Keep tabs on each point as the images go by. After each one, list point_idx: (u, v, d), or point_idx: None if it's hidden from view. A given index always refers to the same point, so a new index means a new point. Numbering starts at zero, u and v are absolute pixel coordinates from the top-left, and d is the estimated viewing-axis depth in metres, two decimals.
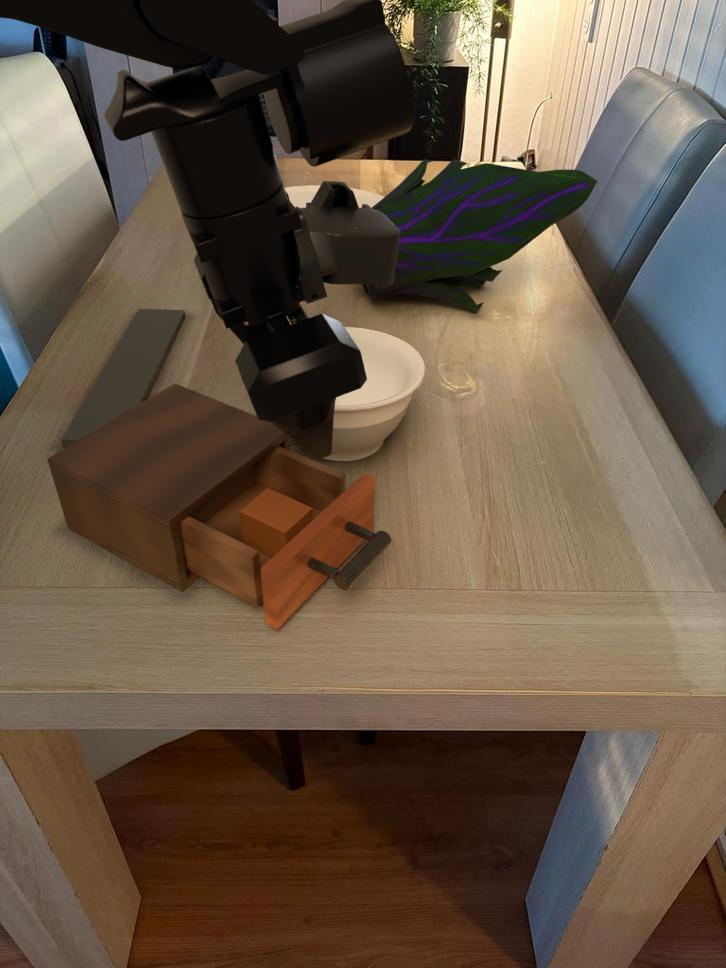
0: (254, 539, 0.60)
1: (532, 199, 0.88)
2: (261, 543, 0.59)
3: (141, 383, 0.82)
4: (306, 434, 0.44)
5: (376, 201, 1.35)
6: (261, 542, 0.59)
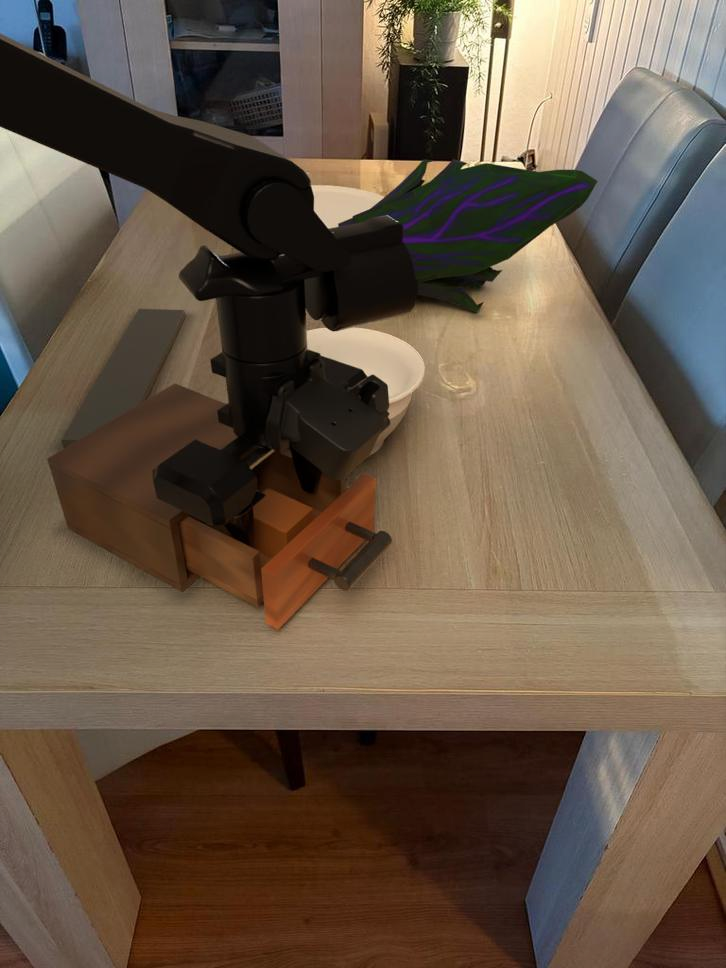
0: (254, 539, 0.60)
1: (532, 199, 0.88)
2: (262, 543, 0.59)
3: (141, 383, 0.82)
4: (226, 522, 0.55)
5: (376, 201, 1.35)
6: (261, 542, 0.59)
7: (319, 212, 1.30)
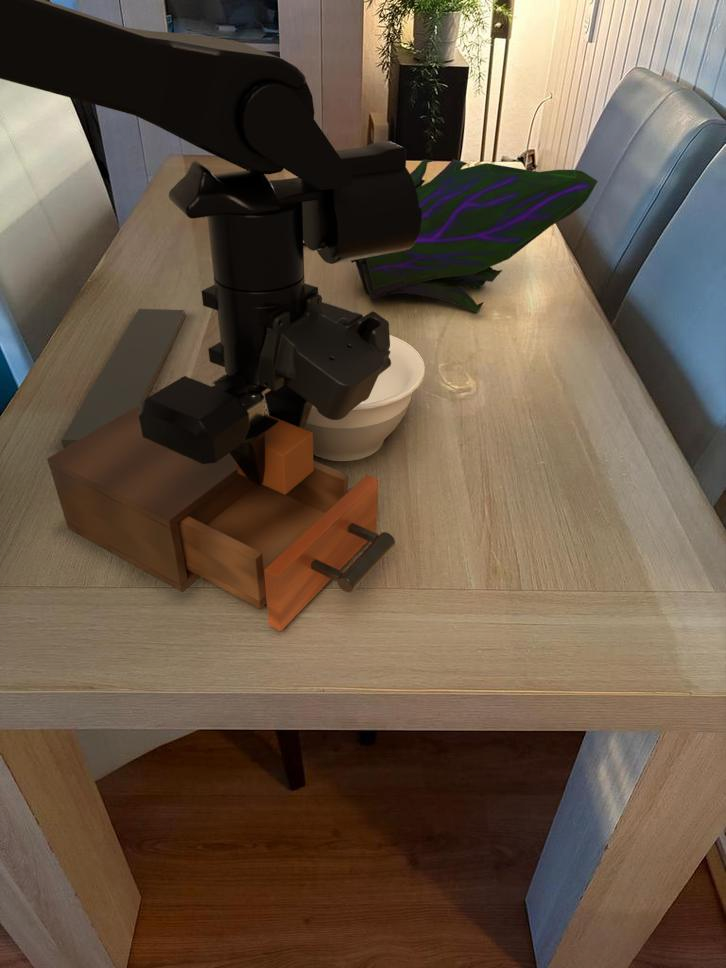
0: None
1: (532, 199, 0.88)
2: None
3: (141, 383, 0.82)
4: (237, 454, 0.53)
5: None
6: None
7: None
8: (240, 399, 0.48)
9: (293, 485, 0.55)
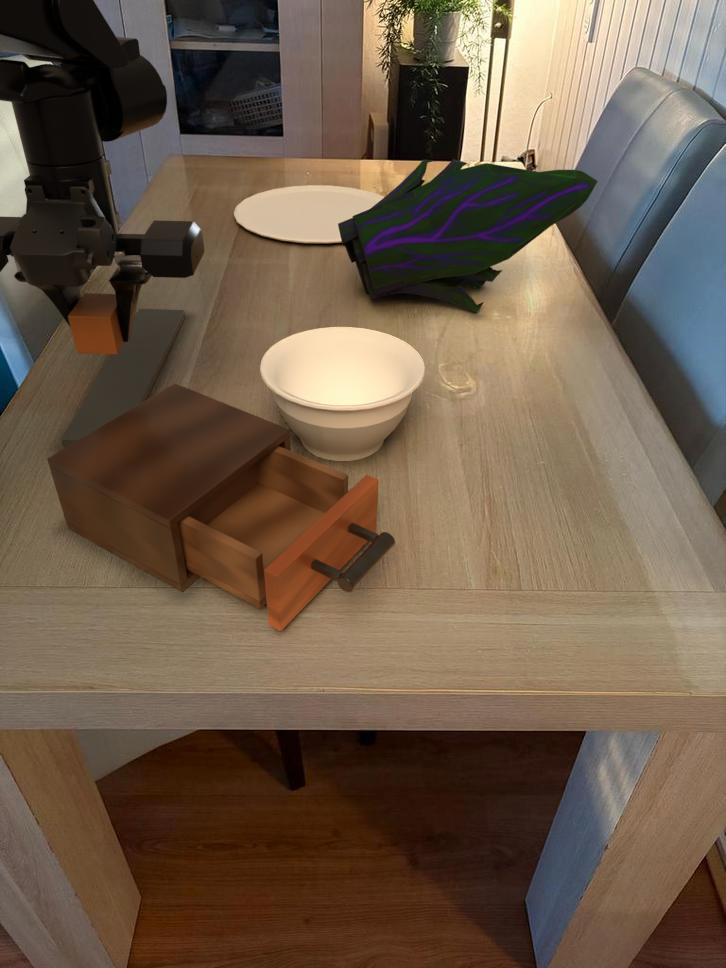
0: None
1: (532, 199, 0.88)
2: None
3: (141, 383, 0.82)
4: None
5: (376, 201, 1.35)
6: None
7: (319, 212, 1.30)
8: None
9: (87, 351, 0.65)
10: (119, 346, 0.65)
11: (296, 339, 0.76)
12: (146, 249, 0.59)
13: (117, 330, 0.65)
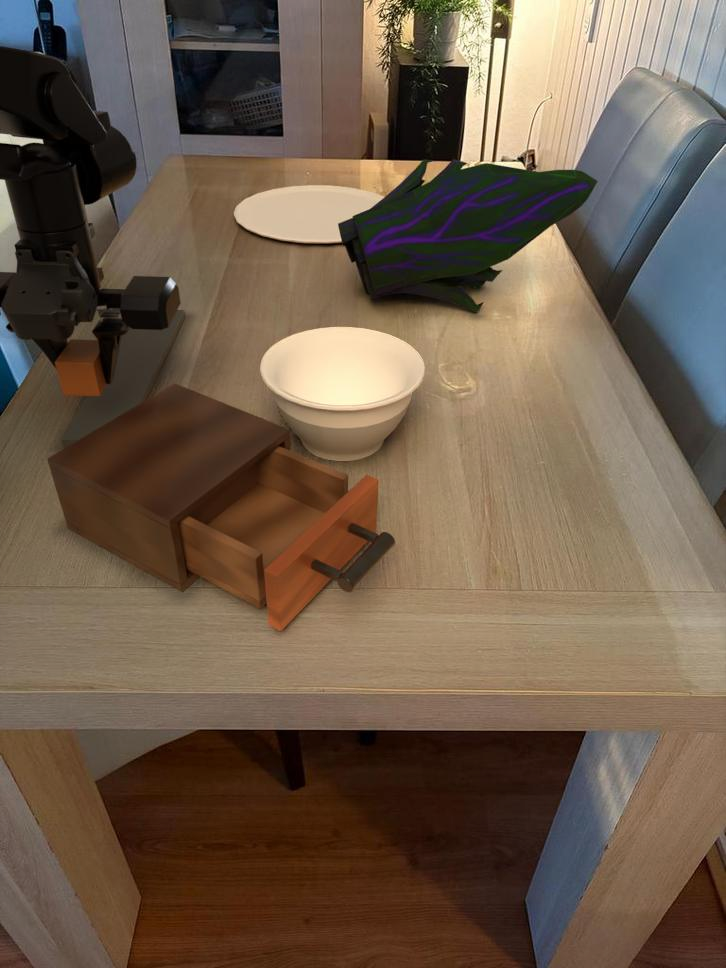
0: None
1: (532, 199, 0.88)
2: None
3: (141, 383, 0.82)
4: None
5: (376, 201, 1.35)
6: None
7: (319, 212, 1.30)
8: None
9: (72, 393, 0.71)
10: (102, 388, 0.71)
11: (296, 339, 0.76)
12: (125, 305, 0.65)
13: (100, 374, 0.71)
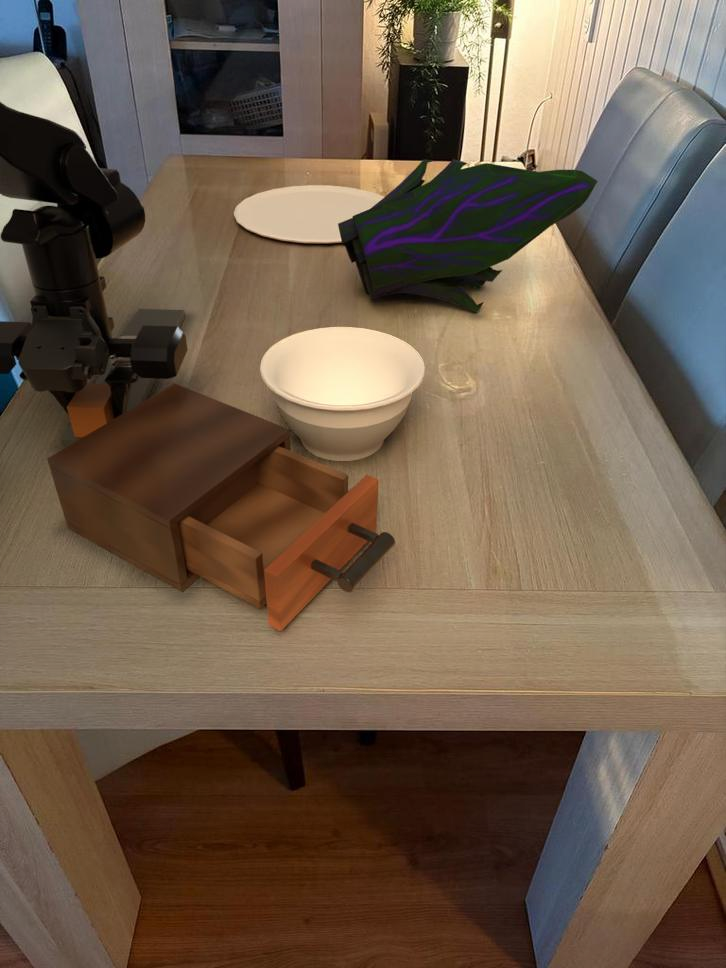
0: None
1: (532, 199, 0.88)
2: None
3: (141, 383, 0.82)
4: None
5: (376, 201, 1.35)
6: None
7: (319, 212, 1.30)
8: None
9: (83, 435, 0.74)
10: None
11: (296, 339, 0.76)
12: (135, 355, 0.68)
13: (110, 417, 0.74)
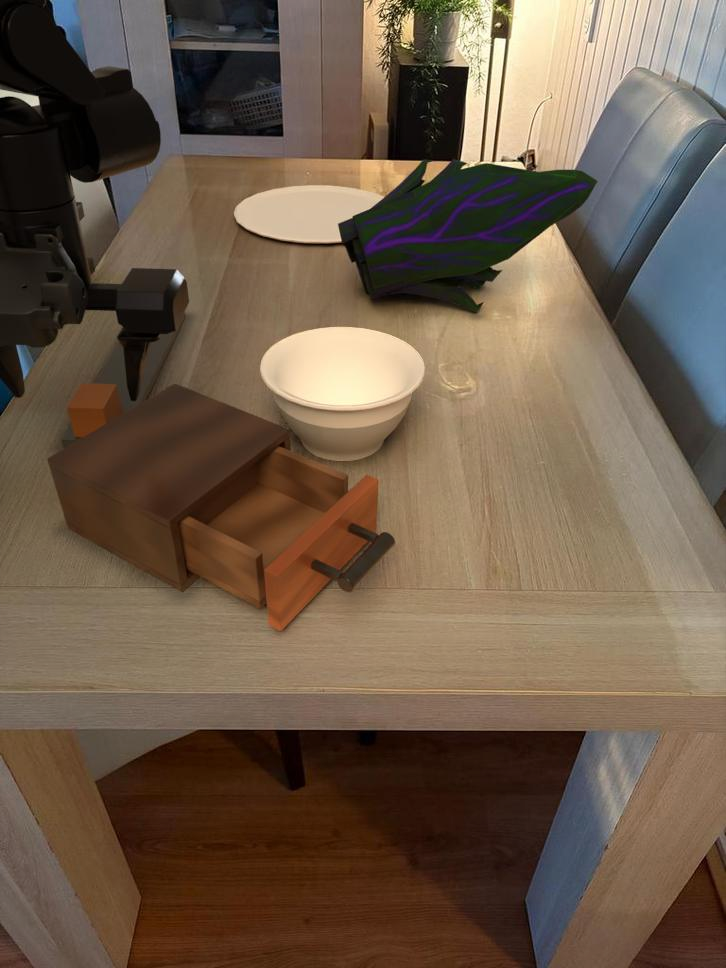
0: None
1: (532, 199, 0.88)
2: None
3: (141, 383, 0.82)
4: None
5: (376, 201, 1.35)
6: None
7: (319, 212, 1.30)
8: None
9: (83, 435, 0.74)
10: None
11: (296, 339, 0.76)
12: (122, 303, 0.52)
13: (110, 417, 0.74)
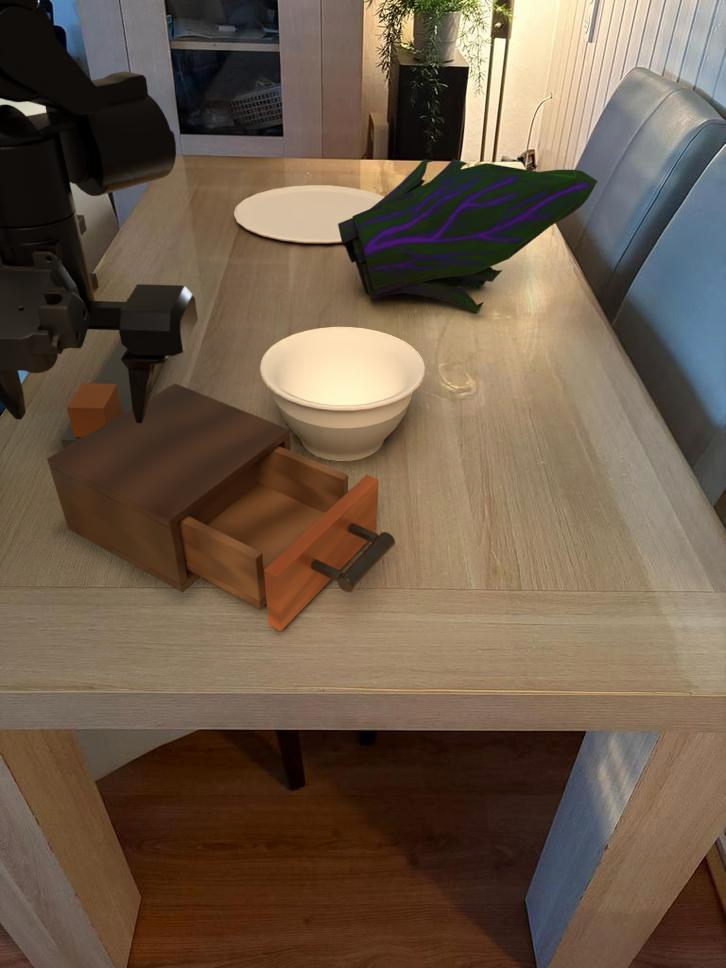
0: None
1: (532, 199, 0.88)
2: None
3: None
4: None
5: (376, 201, 1.35)
6: None
7: (319, 212, 1.30)
8: None
9: (83, 435, 0.74)
10: None
11: (296, 339, 0.76)
12: (126, 323, 0.49)
13: (110, 417, 0.74)
